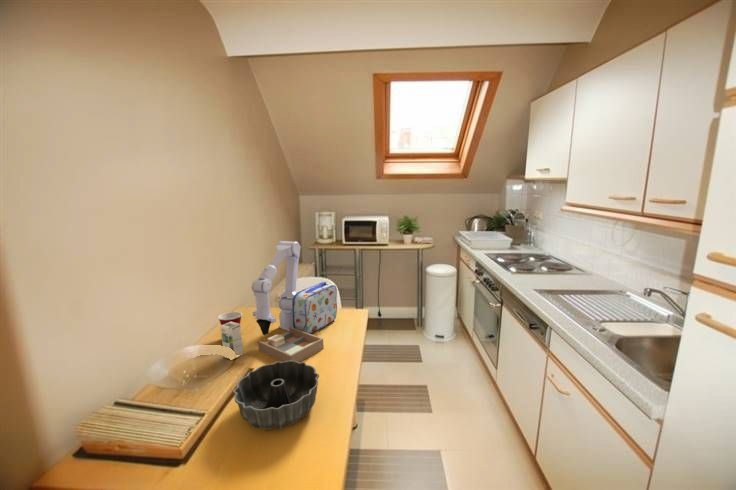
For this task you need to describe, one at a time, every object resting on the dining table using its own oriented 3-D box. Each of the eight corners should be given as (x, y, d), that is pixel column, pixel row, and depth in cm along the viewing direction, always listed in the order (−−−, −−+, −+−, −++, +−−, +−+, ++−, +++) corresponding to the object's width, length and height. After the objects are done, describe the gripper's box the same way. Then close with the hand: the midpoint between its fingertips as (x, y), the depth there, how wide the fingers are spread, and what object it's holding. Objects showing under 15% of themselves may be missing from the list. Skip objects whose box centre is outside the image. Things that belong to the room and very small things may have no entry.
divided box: (258, 350, 147) (257, 341, 146) (291, 335, 161) (290, 326, 160) (291, 366, 133) (290, 356, 132) (323, 348, 147) (323, 338, 146)
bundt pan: (218, 437, 97) (215, 406, 96) (259, 383, 123) (257, 358, 121) (306, 444, 94) (303, 412, 92) (329, 387, 119) (327, 361, 117)
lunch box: (325, 314, 185) (323, 276, 180) (341, 318, 179) (339, 278, 175) (291, 334, 161) (287, 291, 157) (307, 339, 156) (304, 294, 152)
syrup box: (223, 358, 141) (219, 326, 139) (234, 351, 147) (231, 320, 144) (232, 361, 139) (229, 328, 136) (243, 354, 144) (240, 322, 141)
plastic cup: (248, 333, 164) (245, 310, 162) (239, 343, 154) (236, 319, 152) (226, 333, 165) (223, 310, 162) (216, 343, 154) (213, 319, 152)
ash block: (268, 344, 147) (267, 338, 146) (277, 340, 151) (277, 334, 150) (275, 347, 144) (274, 341, 143) (284, 343, 148) (284, 337, 147)
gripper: (245, 304, 150) (248, 333, 152) (265, 311, 141) (267, 341, 144) (259, 300, 155) (261, 327, 158) (278, 306, 146) (281, 335, 149)
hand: (265, 334), depth 151 cm, fingers closed
